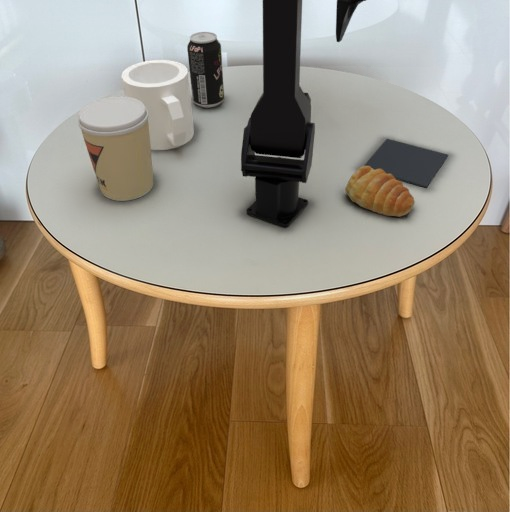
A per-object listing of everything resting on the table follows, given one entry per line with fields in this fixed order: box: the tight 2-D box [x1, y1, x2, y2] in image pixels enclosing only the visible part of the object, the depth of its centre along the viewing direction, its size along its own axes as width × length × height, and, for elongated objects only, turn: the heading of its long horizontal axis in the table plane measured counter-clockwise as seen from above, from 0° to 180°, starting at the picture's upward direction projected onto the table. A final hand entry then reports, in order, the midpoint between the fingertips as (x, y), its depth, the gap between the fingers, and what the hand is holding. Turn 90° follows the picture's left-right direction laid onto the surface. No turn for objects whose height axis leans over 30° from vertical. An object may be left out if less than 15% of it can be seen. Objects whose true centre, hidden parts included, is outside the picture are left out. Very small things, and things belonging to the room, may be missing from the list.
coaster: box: [363, 138, 449, 189], centre depth 87 cm, size 10×10×1 cm
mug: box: [121, 59, 195, 151], centre depth 91 cm, size 14×10×11 cm
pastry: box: [344, 165, 416, 217], centre depth 79 cm, size 9×7×4 cm
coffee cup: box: [77, 95, 154, 202], centre depth 80 cm, size 9×9×12 cm
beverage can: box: [186, 31, 225, 109], centre depth 100 cm, size 6×6×12 cm
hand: (312, 35), depth 90 cm, fingers open, 9 cm apart
